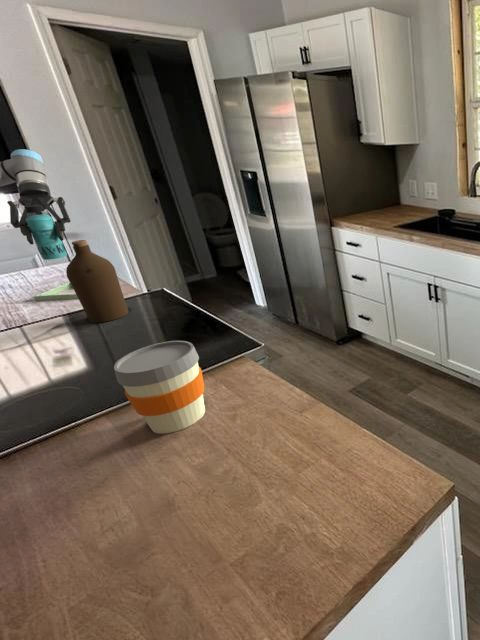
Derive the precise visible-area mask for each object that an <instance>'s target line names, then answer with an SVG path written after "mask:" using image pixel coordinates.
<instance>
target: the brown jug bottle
mask: <svg viewBox="0 0 480 640" xmlns="http://www.w3.org/2000/svg"><path fill="white" fill-rule="evenodd" d="M71 245H72V248H73V250H74V253H75V255H74V256H73V258H72V259H71V261H70V262H69V263H68V264H67V266H66V271H65V272H66V278H67V280H68V282H70V283H71V285H72V287H73V289H74V290H73V291H74V292H75V293H76V295H77V297H78V301H79V303H80V305H81V307H82V309H83V312H84V314H85V315H86V317H87V319H88V322H90V323H93V324H101V323H107V322H112V321H115V320H118V319H121V318H124V317H125V316H127V315H129V309H128V306H127V303H126V300H125V297H124V294H123V290H122V287H121V285H120V281H119V278H118V275H117V271H116V268H115V266H114V265H113V264H112V262H111V261H110V260H108V259H106V258H105V257H103V256H100V255H99V254H96V253H94V252H93V251H91V247H90V244H88V240H86V239H79V240H73V241H72V242H71ZM75 293H74V294H75Z"/></svg>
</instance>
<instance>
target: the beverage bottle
mask: <svg viewBox="0 0 480 640" xmlns="http://www.w3.org/2000/svg"><path fill="white" fill-rule="evenodd" d="M26 210H27V213H33V214H34V213H40V212H41V213H42V212H45V210H44V209H43V207H42V205H32V206H27V207H26ZM33 214H32V216H29V217H28V218H27V219H26V222H27V224H28V226H29V228H30V231H31V233H32V238H33V242H34V243H35V246H36V248H37V251H38V252H39V255H40V257H41V258H42V259H43V261H44V260H45V261H46V260H47V261H48V260H56V259H62V258H65V257H67V256H68V251H67V249H66V246H65V245H64V243H63V241H60V239H59V238H58V236H57V232H56V227H55V223H54V220H53V216H52V215H48V214H46V213H45V214H34V215H33Z"/></svg>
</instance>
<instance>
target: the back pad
mask: <svg viewBox="0 0 480 640" xmlns="http://www.w3.org/2000/svg"><path fill="white" fill-rule="evenodd" d="M71 290H73V291H74V289H73V287H72V285H71V283H70V281H68V282H66V283H63V284H60V285H59V286H55V287H53V288H51V289H48V290H46V291H44V292H41V293H38V294H36V295H33V297H34V299H35V302H36V301H38V302H39V301H40V302H41V301H54V300H55V301H56V300H57V301H58V300H77V299H78V297H77V295H76V293H61V292H63V291H71ZM78 300H79V299H78Z"/></svg>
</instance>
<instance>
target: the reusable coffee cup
mask: <svg viewBox="0 0 480 640" xmlns="http://www.w3.org/2000/svg"><path fill="white" fill-rule="evenodd" d="M199 360H200V356H199V354H198V352H197V350H196V348H195V346H194V344H193V343H192V342H189V341H188V340H170V341H163V342H158V343H154V344H150V345H146V346H144V347H141V348H138V349H136V350H133V351H132V352H131V351H130V352H129V353H127V354H125V355H124V356H122V357H121V358H120V359H118V360H117V361H116V362H115V363H114V365H113V369H114V374H115V378H116V381H117V383H118V384H119V386H122V388H124V396H125V397H126V399H127V400H128V402H129V403H130V405H131V406H132V407H133V410H135V412H136V413H137V414H138V415H140V416H142V417H143V419H144V420H145V422H146V423H147V425H148V427H149V428H150V430H151V431H152V432H153V433H155V434H158V435H159V434H163V435H164V434H171V433H175V432H178V431H182V430H184V429H186V428H188V427H191V426H192V425H194V424H195V423H197V422H199V421H200V419H202V417H204V415H205V413H206V407H205V399H204V392H205V383H204V377H203V370H202V368H201V367H200V366H199Z"/></svg>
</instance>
